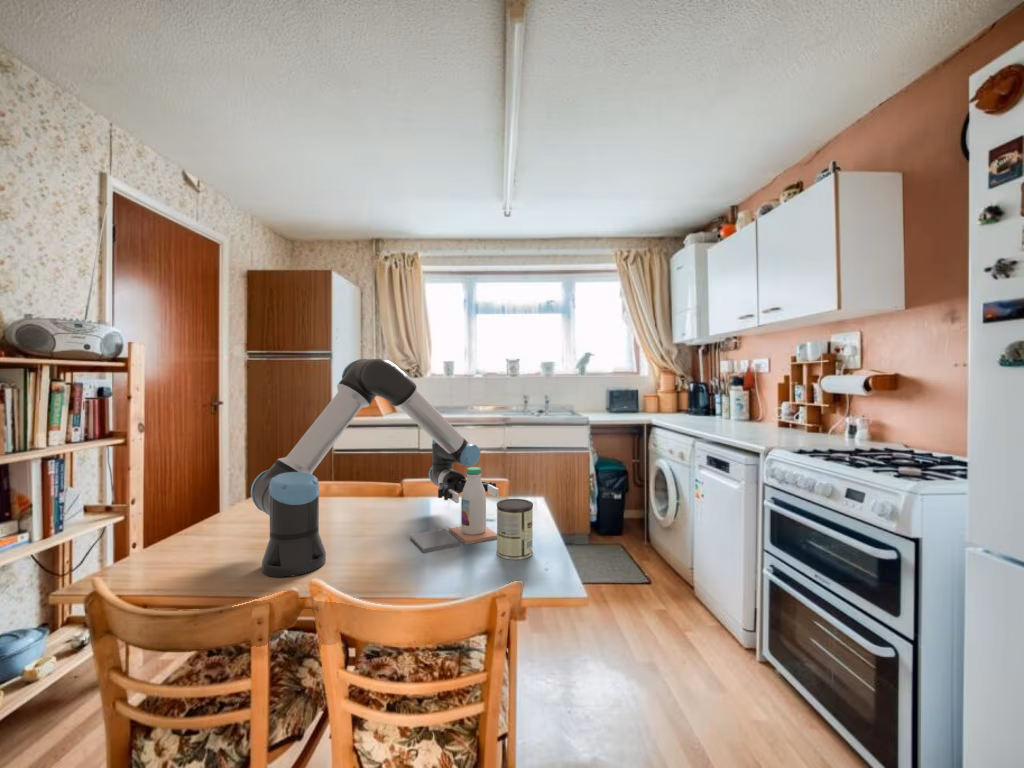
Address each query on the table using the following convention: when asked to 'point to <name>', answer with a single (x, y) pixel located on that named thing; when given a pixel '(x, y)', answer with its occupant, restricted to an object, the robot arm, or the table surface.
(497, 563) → the table surface
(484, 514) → the milk bottle
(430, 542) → the slate tile
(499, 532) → the coffee can
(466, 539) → the terracotta tile
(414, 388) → the robot arm
